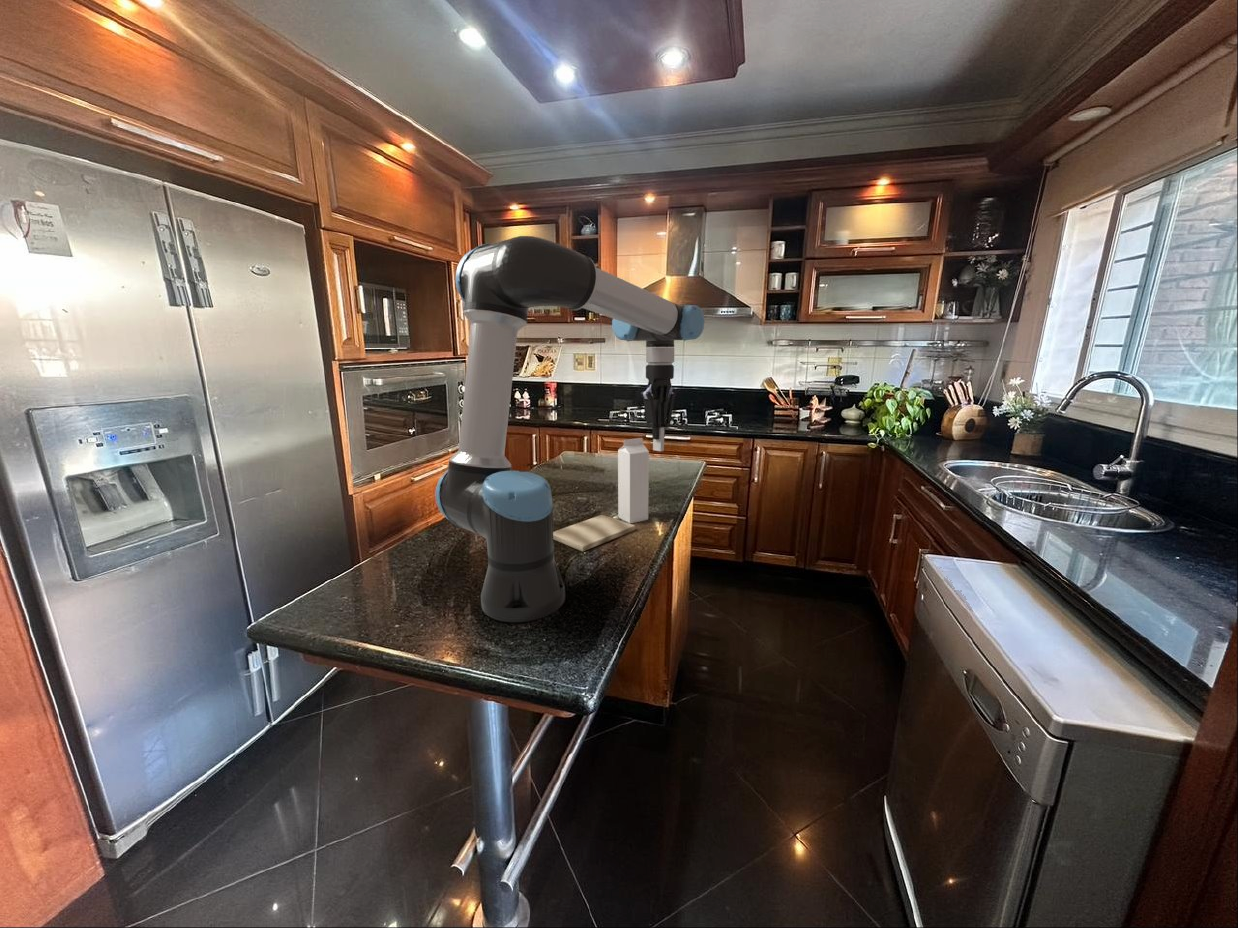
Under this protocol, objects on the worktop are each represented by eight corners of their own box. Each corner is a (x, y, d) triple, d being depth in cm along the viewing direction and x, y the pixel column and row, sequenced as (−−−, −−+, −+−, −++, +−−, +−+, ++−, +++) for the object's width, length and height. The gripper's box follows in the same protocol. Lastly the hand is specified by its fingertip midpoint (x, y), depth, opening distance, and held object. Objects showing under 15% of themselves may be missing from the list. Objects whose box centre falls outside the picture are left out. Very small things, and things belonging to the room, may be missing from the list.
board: (582, 551, 109) (582, 546, 109) (549, 537, 117) (549, 533, 117) (635, 529, 122) (635, 525, 122) (601, 518, 130) (601, 514, 130)
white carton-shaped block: (618, 517, 131) (617, 438, 126) (636, 513, 134) (636, 435, 129) (630, 524, 126) (629, 441, 121) (649, 519, 129) (649, 439, 124)
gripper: (663, 363, 135) (662, 445, 140) (633, 364, 126) (632, 452, 131) (685, 363, 130) (683, 448, 135) (655, 365, 121) (654, 456, 126)
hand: (658, 450), depth 133 cm, fingers closed
